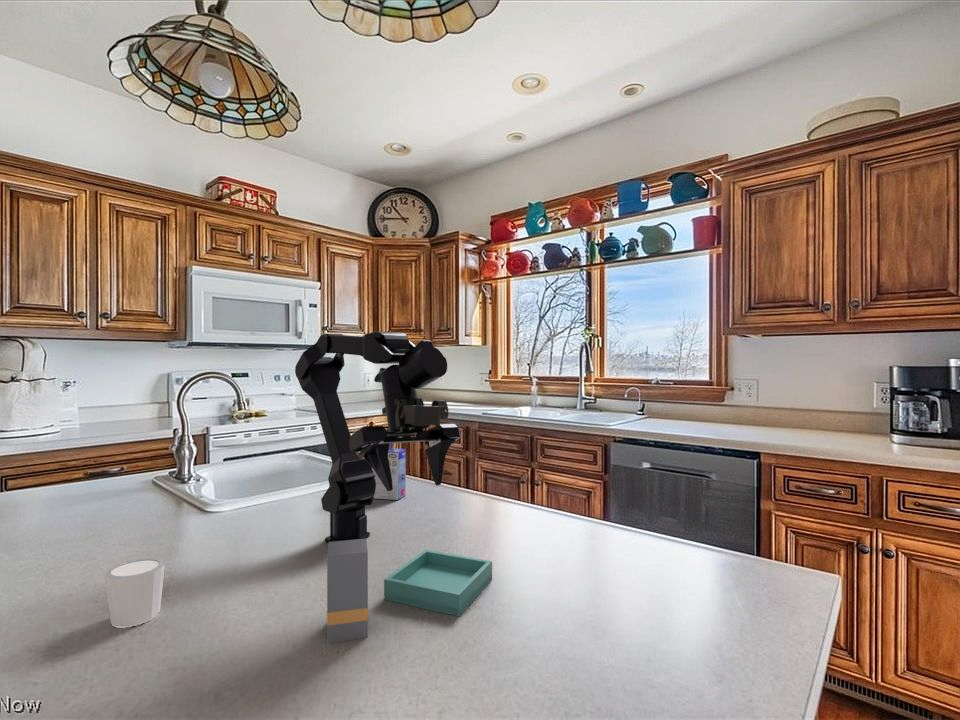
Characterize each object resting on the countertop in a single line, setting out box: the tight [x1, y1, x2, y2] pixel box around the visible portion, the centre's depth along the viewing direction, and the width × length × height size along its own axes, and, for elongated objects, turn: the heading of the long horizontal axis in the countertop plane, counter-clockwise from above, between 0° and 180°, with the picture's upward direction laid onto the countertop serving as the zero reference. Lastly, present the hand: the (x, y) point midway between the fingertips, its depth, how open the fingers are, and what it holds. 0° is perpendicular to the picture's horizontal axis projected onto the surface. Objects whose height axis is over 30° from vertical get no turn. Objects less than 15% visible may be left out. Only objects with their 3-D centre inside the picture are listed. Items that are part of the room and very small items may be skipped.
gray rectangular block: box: [326, 538, 369, 644], centre depth 66 cm, size 5×5×11 cm
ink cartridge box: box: [363, 443, 407, 501], centre depth 129 cm, size 10×6×14 cm, turn 78°
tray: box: [383, 549, 493, 617], centre depth 78 cm, size 12×12×3 cm
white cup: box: [104, 558, 166, 627], centre depth 69 cm, size 7×7×7 cm
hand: (415, 487), depth 82 cm, fingers open, 9 cm apart
